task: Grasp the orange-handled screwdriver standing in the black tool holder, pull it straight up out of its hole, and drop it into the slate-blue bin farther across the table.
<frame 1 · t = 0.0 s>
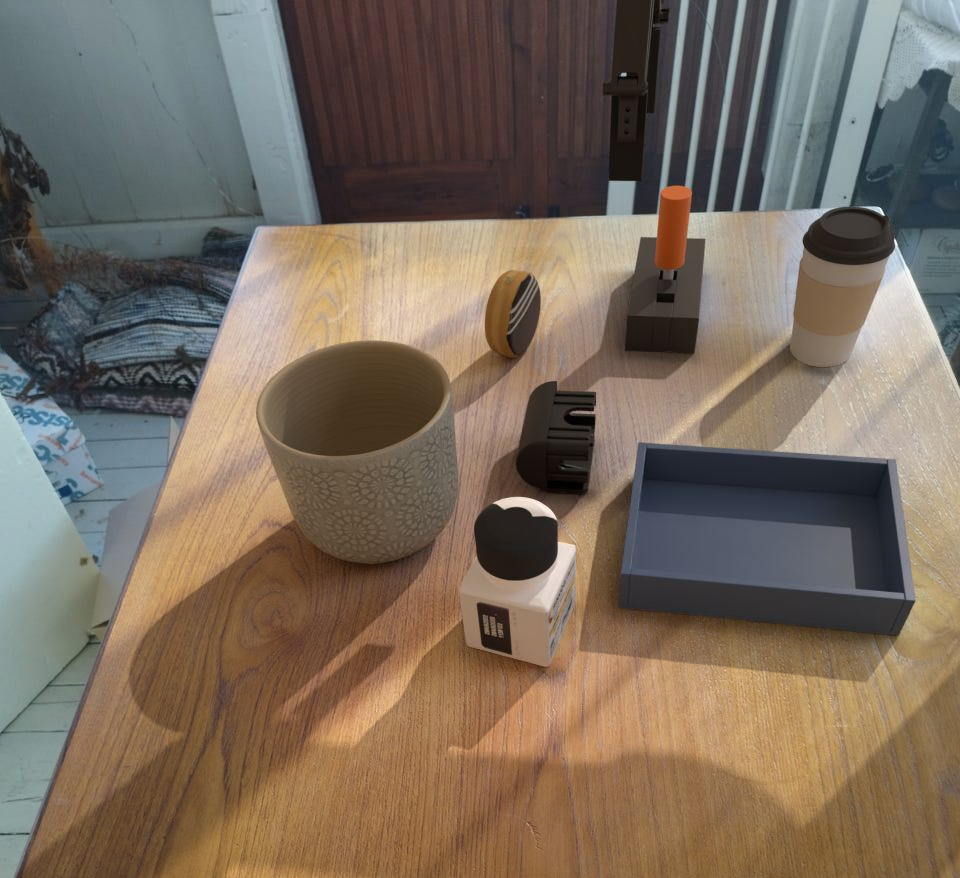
hand: (632, 144, 76), 26 cm above the table, tool pointing down, fingers open, 13 cm apart
container: (521, 627, 77), on the table
coffee cup: (820, 350, 99), on the table
end cap: (557, 465, 91), on the table
screwdriver: (670, 254, 101), in the holder
holder: (664, 309, 107), on the table
doughnut: (514, 351, 104), on the table
planter: (382, 525, 87), on the table
bin: (755, 549, 81), on the table
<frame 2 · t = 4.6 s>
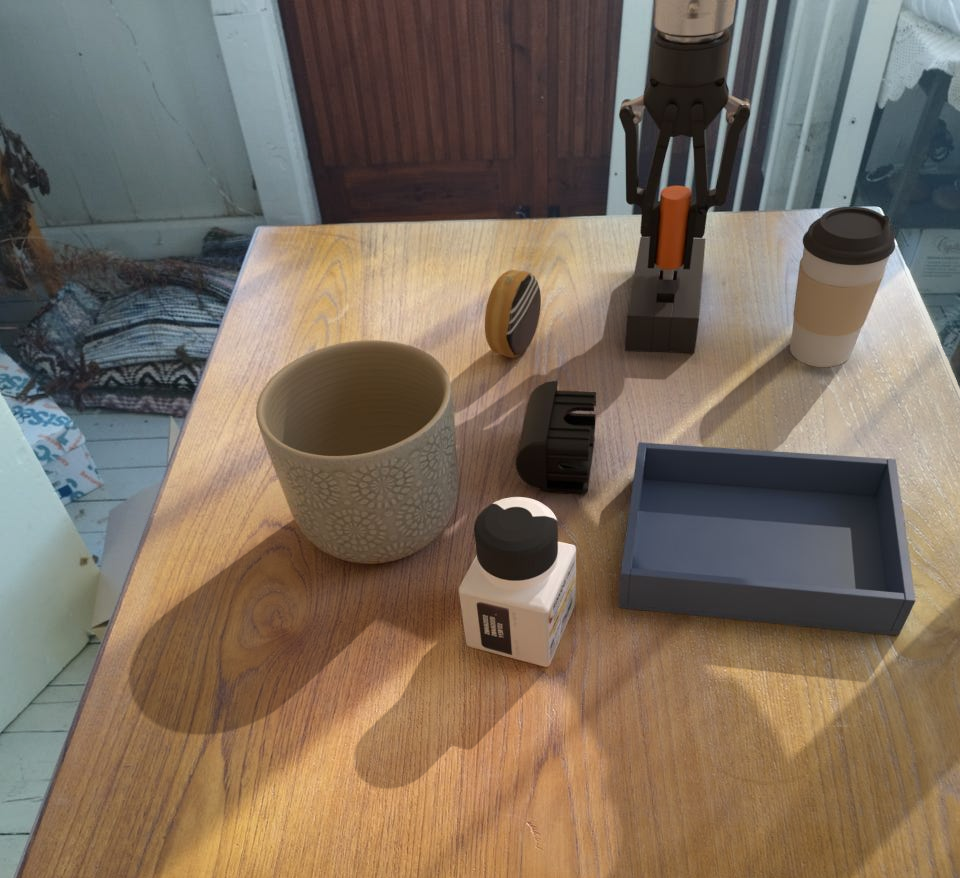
hand: (669, 262, 102), 6 cm above the table, tool pointing down, fingers closed on screwdriver, 3 cm apart
screwdriver: (670, 254, 101), in the holder, touching gripper
everything else where it was.
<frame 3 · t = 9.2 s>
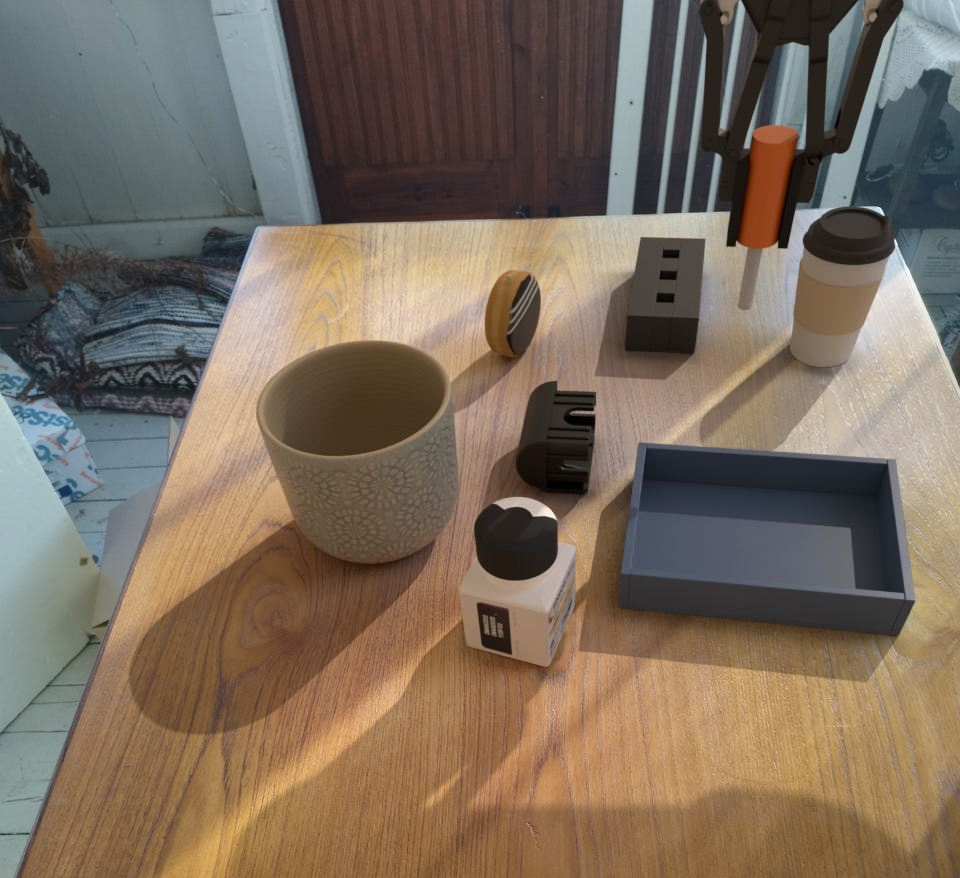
hand: (756, 238, 72), 23 cm above the table, tool pointing down, fingers closed on screwdriver, 3 cm apart
screwdriver: (758, 227, 71), point 24 cm above the table, touching gripper
everything else where it was.
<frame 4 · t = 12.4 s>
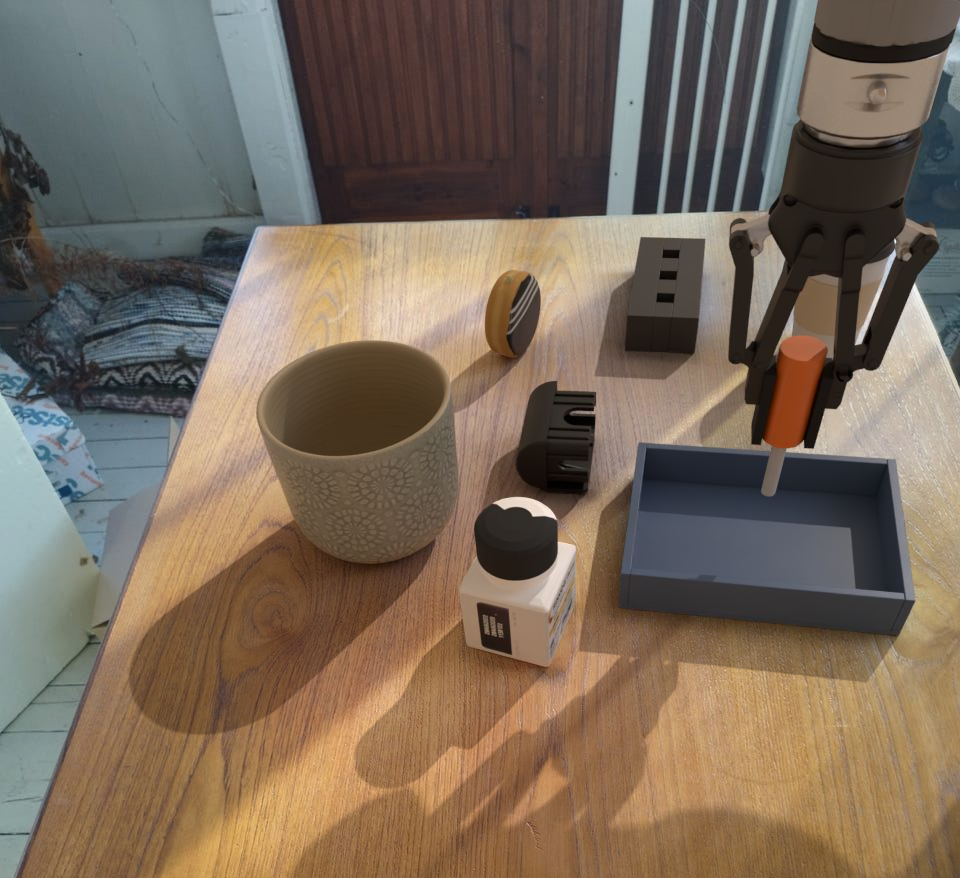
hand: (782, 435, 71), 13 cm above the table, tool pointing down, fingers closed on screwdriver, 3 cm apart
screwdriver: (784, 425, 70), point 14 cm above the table, touching gripper
everything else where it was.
when the fingers open (7 cm above the table, at t = 14.2 s): screwdriver stays where it is, resting on bin.
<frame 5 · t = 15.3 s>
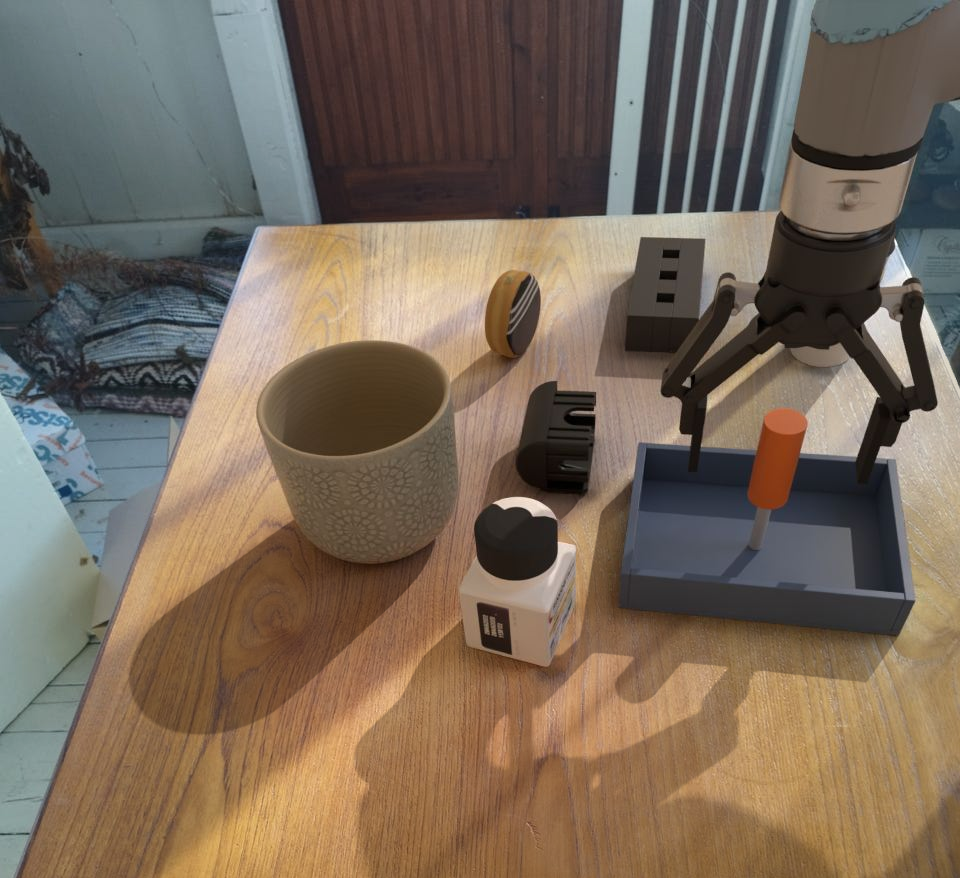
hand: (775, 467, 73), 10 cm above the table, tool pointing down, fingers open, 13 cm apart
screwdriver: (769, 488, 75), in the bin
everything else where it was.
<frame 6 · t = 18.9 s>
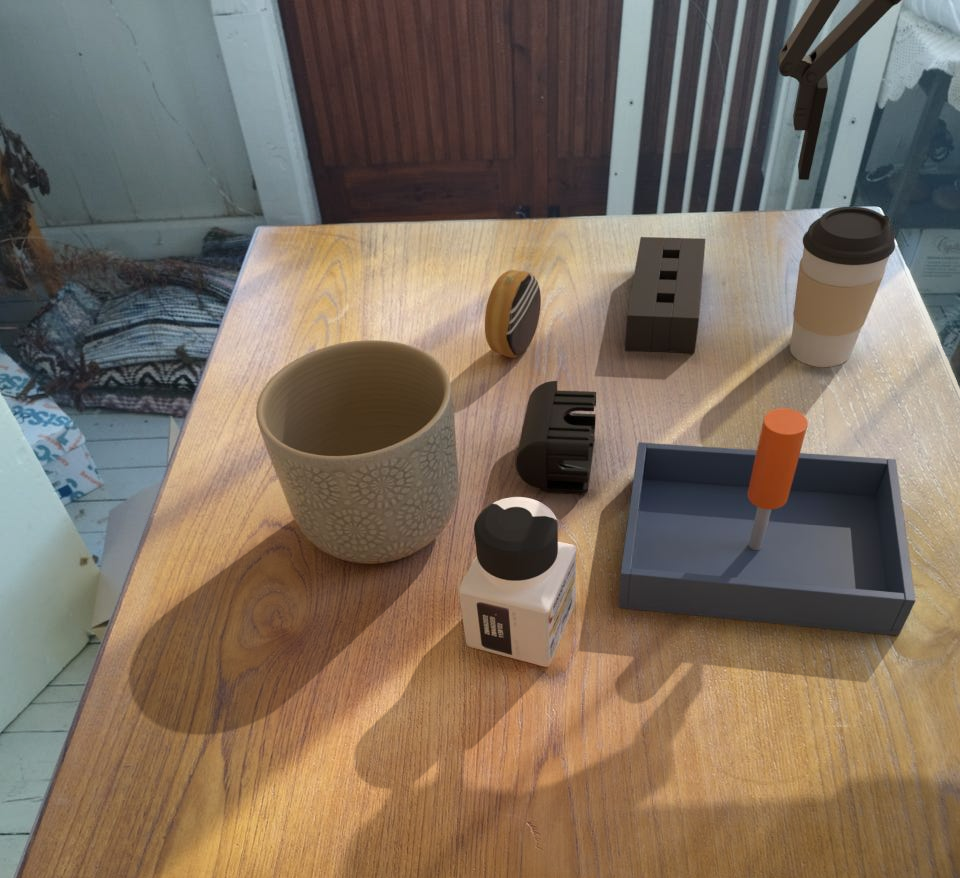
hand: (893, 173, 69), 27 cm above the table, tool pointing down, fingers open, 13 cm apart
nothing on the table moved.
at the end: screwdriver inside the target area in the bin (0.1 cm from its centre), point 7.5 cm above the bin's base; screwdriver moved 41.5 cm from its start; the gripper is holding nothing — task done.
